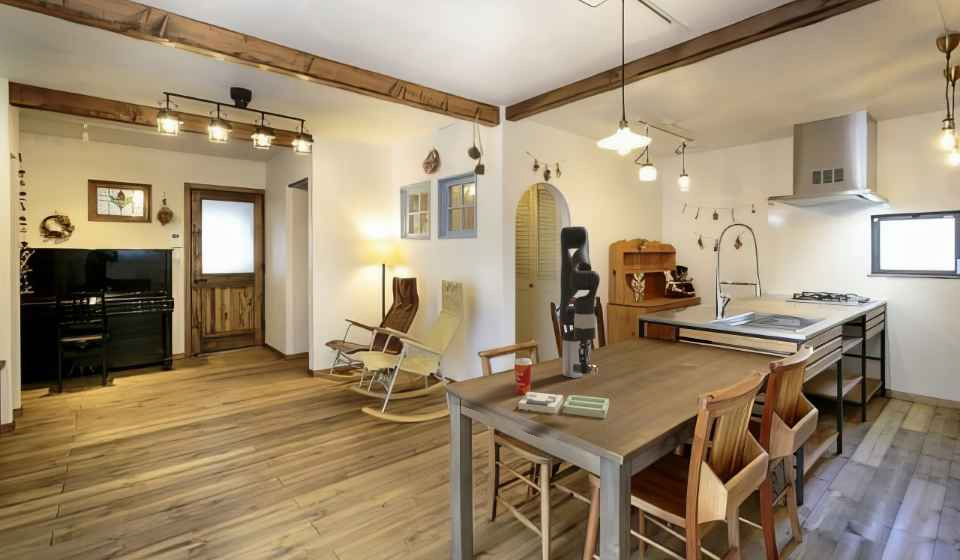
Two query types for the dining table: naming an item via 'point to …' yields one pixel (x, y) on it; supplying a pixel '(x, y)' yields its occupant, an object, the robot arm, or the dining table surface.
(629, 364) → the dining table surface
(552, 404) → the white battery holder
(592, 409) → the tray
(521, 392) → the paper cup
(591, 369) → the cell
